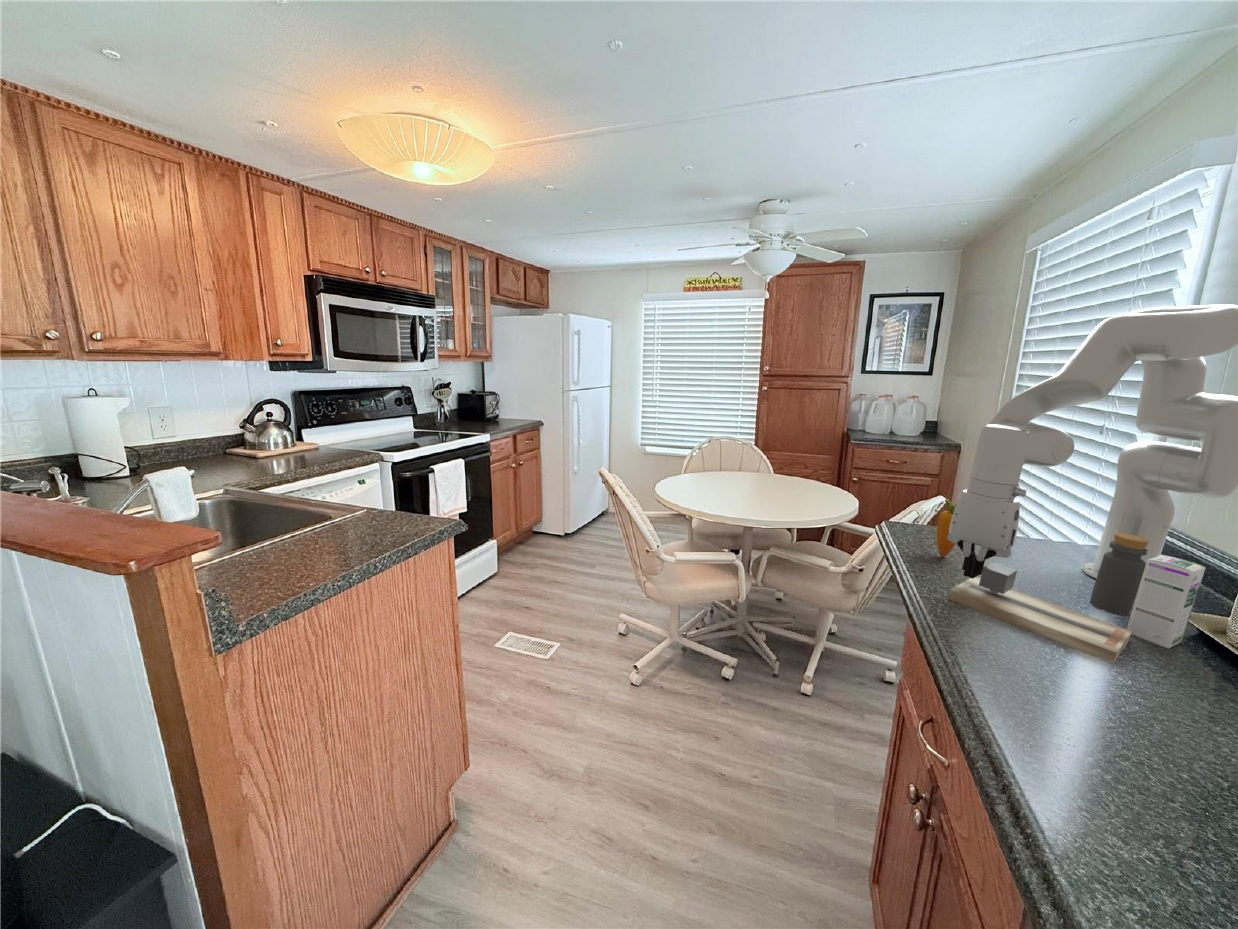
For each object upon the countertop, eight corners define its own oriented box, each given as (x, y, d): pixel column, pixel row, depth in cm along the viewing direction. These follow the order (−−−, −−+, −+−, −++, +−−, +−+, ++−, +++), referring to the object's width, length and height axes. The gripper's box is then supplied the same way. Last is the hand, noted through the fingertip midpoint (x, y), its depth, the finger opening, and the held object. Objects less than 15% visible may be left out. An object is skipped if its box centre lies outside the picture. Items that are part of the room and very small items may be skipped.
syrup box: (1169, 650, 84) (1197, 571, 80) (1123, 631, 89) (1147, 557, 85) (1181, 642, 86) (1209, 566, 83) (1135, 625, 91) (1159, 552, 88)
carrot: (933, 558, 117) (946, 499, 114) (929, 551, 122) (941, 493, 118) (957, 563, 115) (971, 502, 112) (952, 555, 120) (965, 496, 116)
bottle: (1138, 617, 94) (1162, 544, 91) (1103, 612, 95) (1125, 540, 92) (1115, 602, 100) (1137, 533, 96) (1082, 598, 101) (1102, 529, 97)
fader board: (971, 584, 104) (974, 575, 104) (1129, 641, 86) (1132, 630, 85) (947, 598, 98) (949, 589, 97) (1112, 663, 79) (1116, 652, 78)
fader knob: (987, 585, 99) (992, 562, 98) (1011, 593, 96) (1017, 570, 95) (977, 591, 96) (983, 567, 95) (1001, 599, 93) (1008, 575, 92)
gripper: (1046, 496, 91) (1022, 587, 95) (956, 477, 103) (938, 558, 107) (1032, 502, 87) (1008, 596, 91) (940, 481, 99) (922, 565, 103)
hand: (970, 575), depth 99 cm, fingers closed
